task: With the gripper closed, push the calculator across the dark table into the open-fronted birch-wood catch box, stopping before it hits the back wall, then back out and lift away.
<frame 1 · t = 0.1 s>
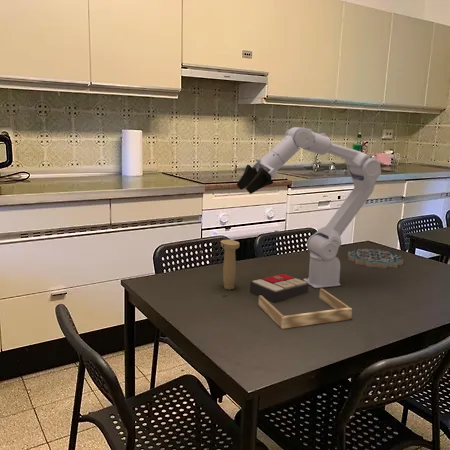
hand: (243, 189, 133), 32 cm above the table, tool tilted 50°, fingers open, 7 cm apart
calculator: (278, 293, 142), on the table
decorative tile: (374, 261, 176), on the table
catch box: (302, 310, 128), on the table
handle: (228, 288, 144), on the table
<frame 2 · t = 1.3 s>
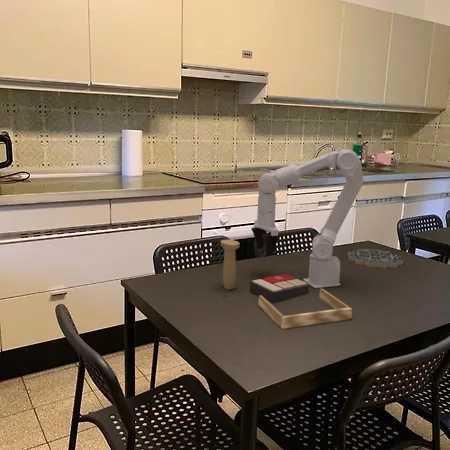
hand: (264, 251, 150), 9 cm above the table, tool pointing down, fingers open, 7 cm apart
nothing on the table moved.
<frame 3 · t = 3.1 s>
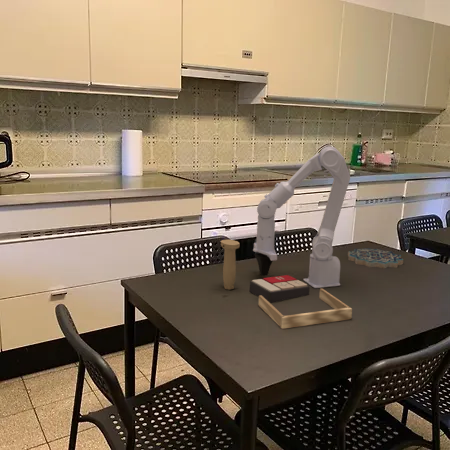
hand: (263, 275, 152), 1 cm above the table, tool pointing down, fingers closed
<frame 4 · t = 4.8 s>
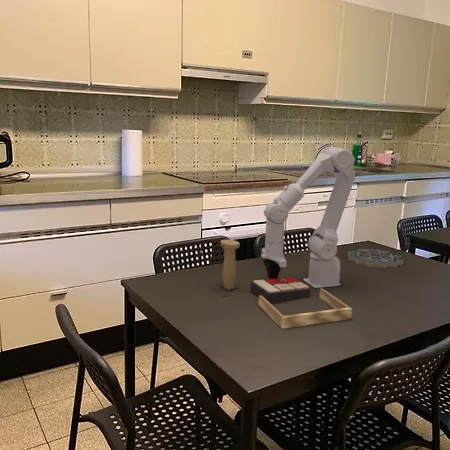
hand: (272, 281, 146), 1 cm above the table, tool pointing down, fingers closed
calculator: (280, 295, 140), on the table, touching gripper
everything else where it was.
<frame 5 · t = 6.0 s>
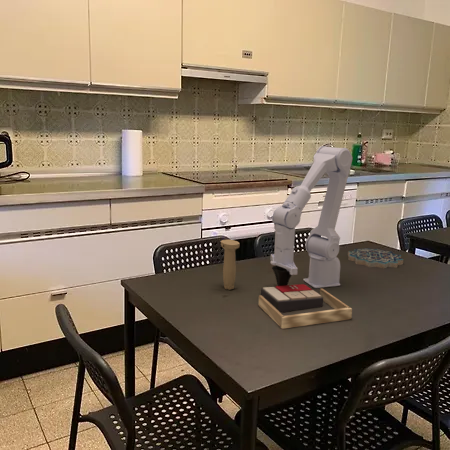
hand: (282, 289, 140), 1 cm above the table, tool pointing down, fingers closed
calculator: (290, 304, 134), on the table
everything else where it was.
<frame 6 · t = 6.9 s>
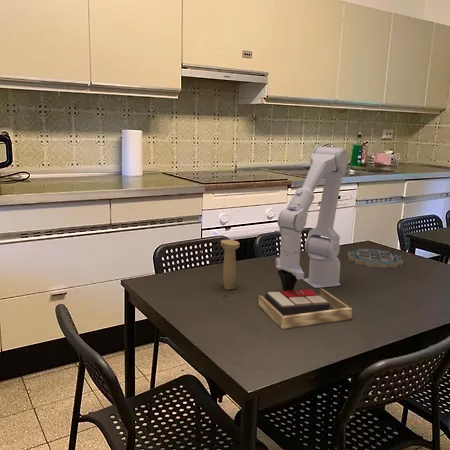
hand: (287, 294, 136), 1 cm above the table, tool pointing down, fingers closed
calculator: (296, 309, 130), on the table, touching gripper
everything else where it was.
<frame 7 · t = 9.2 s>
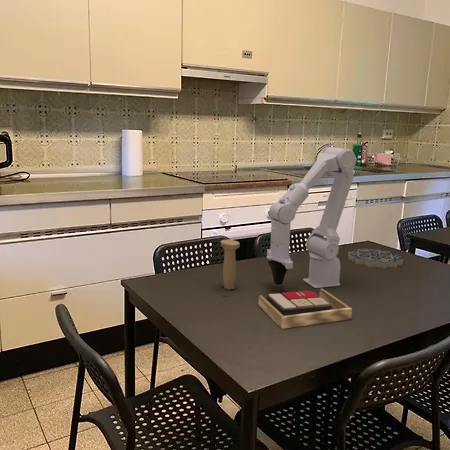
hand: (278, 283, 142), 2 cm above the table, tool pointing down, fingers closed
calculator: (297, 312, 129), on the table
everything else where it was.
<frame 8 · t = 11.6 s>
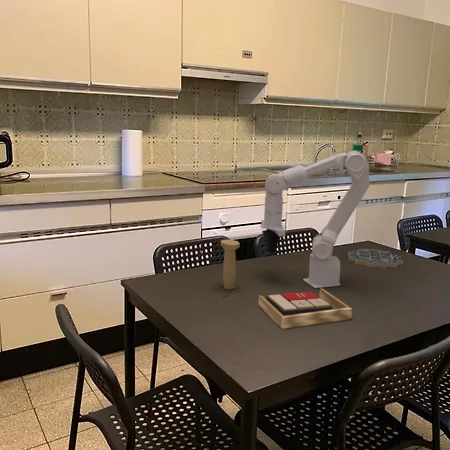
hand: (271, 252, 150), 9 cm above the table, tool pointing down, fingers closed
nothing on the table moved.
at the end: catch box 0.0 cm off-centre on the catch box, point 0.0 cm above the catch box's base; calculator inside the target area on the catch box (1.8 cm from its centre), point -0.6 cm above the catch box's base; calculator tilted 0° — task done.
